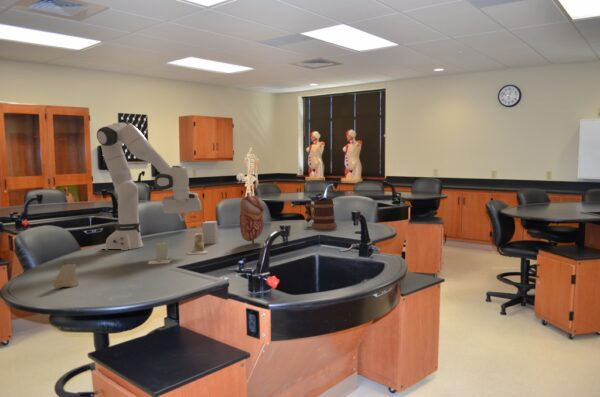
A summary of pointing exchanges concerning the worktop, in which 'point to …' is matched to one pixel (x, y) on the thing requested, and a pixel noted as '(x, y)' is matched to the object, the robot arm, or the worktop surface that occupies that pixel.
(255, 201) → the anatomical model
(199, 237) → the maple block
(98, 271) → the worktop surface
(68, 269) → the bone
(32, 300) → the worktop surface
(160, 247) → the sage block
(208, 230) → the supplement box
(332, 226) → the mug
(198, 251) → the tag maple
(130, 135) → the robot arm
